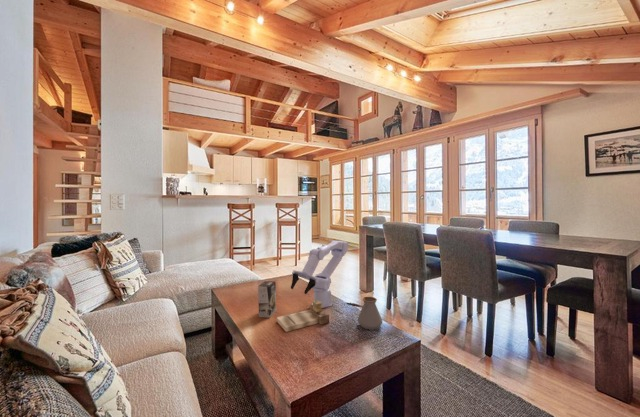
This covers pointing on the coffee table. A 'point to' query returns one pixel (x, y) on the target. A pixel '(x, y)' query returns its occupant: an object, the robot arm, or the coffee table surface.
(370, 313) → the coffee pot
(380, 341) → the coffee table surface
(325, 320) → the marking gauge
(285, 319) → the pine board
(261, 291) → the coffee box
